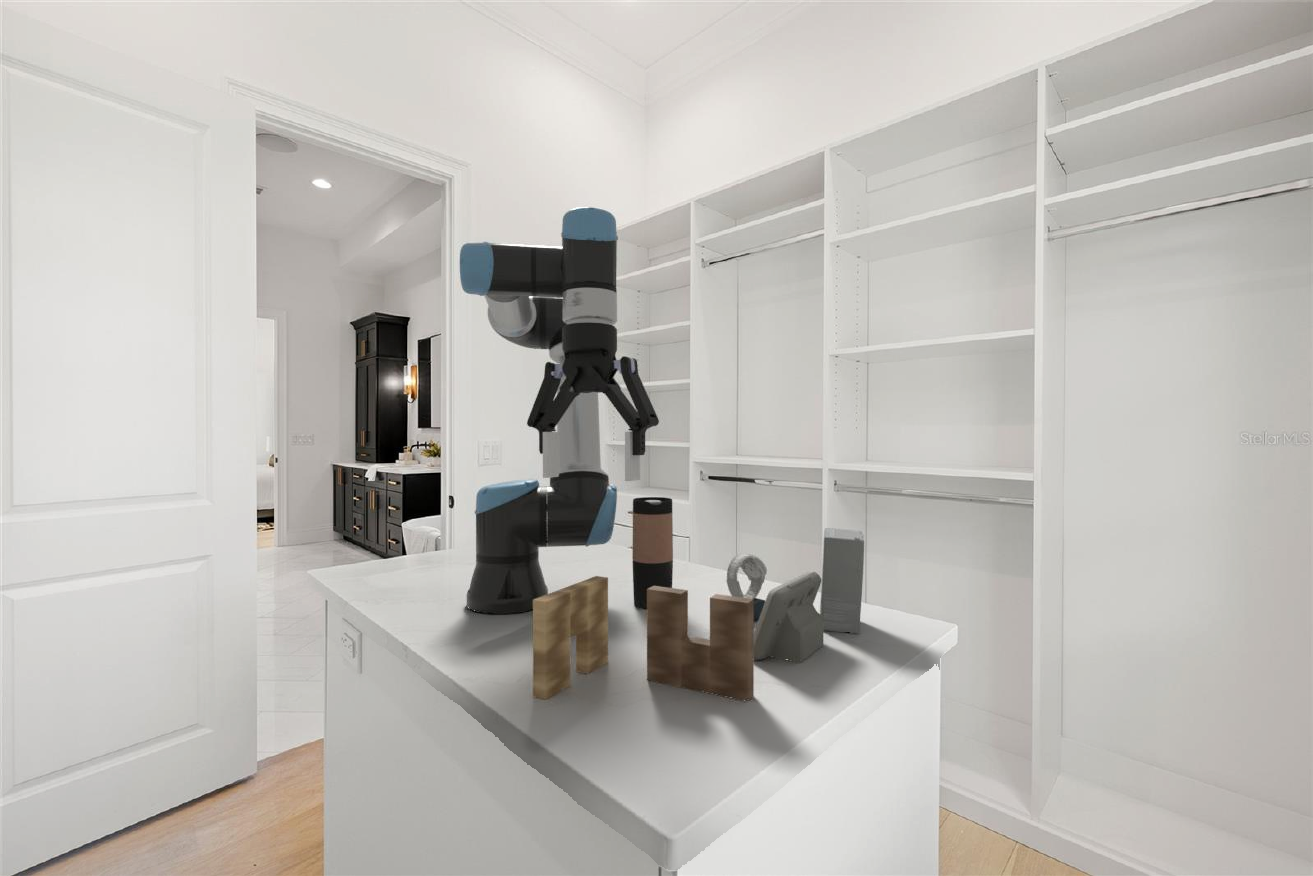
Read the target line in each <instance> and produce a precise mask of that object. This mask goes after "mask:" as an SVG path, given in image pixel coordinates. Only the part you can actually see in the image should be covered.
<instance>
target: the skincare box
mask: <svg viewBox="0 0 1313 876" xmlns="http://www.w3.org/2000/svg"><path fill="white" fill-rule="evenodd" d="M864 537H865V535H864V534H863V532H862V530H852V529H851V530H850V529H843V528H842V529H841V528H831V527H830V528H829V527H828V528H824V532H823V546H822V547H823V553H822V568H821V569H822V571H821V572H822V573H821V584H820V586H821V588H820V589H821V591H820V602H819V603H820V605H819V614H820V615H821V616H822V618H823V631H824V632H825V631H826V632H828V631H829V632H837V633H844V632H850V633H849V634H853V633H857V634H856V635H859V634H860V633H861V632H860V631H861V629H860V628H861V612H862V597H863V583H864V582H863V581H864V580H863V579H864V564H865V541H864Z"/></svg>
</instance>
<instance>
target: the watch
mask: <svg viewBox="0 0 1313 876" xmlns="http://www.w3.org/2000/svg"><path fill="white" fill-rule="evenodd" d="M740 568H741V570H742V571H743V572H744V574H745V576H747V579H748V580H749V581H750V585H749V587H748V589H747V591H746V592H745V593H744V592H743V591H742V589H741V585H740V581H738V572H739V569H740ZM767 571H768V569H767V566H766V565H765V563H764V562H763V560H761V559H760V558H759V557H758V556H756V555H753V554H743V553H740V554H737V555H734V557H732V559H731V560H730V562H729V564H728V568H727V570H726V580H725V581H726V585H727V588H728V591H729V594H730V596H735V597H742V598H750V599H754V623H755V622H758V620H759V617H760V615H761V612H762V609H763V606H764V604H765V601H766V599H761V598H757V596H758V595H759V593H760V592H761V590H762V587H763V584H764V583H765V579H766V575H767Z"/></svg>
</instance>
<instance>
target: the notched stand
mask: <svg viewBox="0 0 1313 876" xmlns="http://www.w3.org/2000/svg"><path fill="white" fill-rule="evenodd" d="M688 591H689V589H681V588H673V587H672V588H668V587H660V586H652V587H650V588H648V589H647V610H646V680H647V681H651V682H656V683H660V684H665V685H669V686H674V687H678V688H683V689H688V690H692V691H696V692H701V691H704V692H703V693H705V692H708V693H707V694H710V693H713V694H712V695H714V694H717V695H716V696H719V695H721V696H720V697H724V696H727V697H726V698H728V697H732V698H731V699H733V698H735V699H734V700H737V699H739V700H738V701H742V700H745V701H744V702H746V701H748V702H749V701H750V700H751V699H752V698H753V697H754V693H755V692H754V691H755V689H754V688H755V687H754V682H755V681H754V680H755V679H754V678H755V677H754V676H755V675H754V669H755V668H754V663H755V661H754V660H755V659H754V631H755V630H754V625H755V624H754V623H755V622H754V599H750V598H742V597H735V596H732V595H728V594H726V595H725V594H720V593H718V594H717V593H715V594H714V595H712V596H711V597H709V638H708V639H707V638H702V637H697V636H691V635H689V633H688V630H689V627H688V626H689V625H688V624H689V621H688V620H689V619H688V618H689V616H688V615H689V611H688V610H689V606H688V605H689V601H688V600H689V599H688V598H689V597H688V595H689V592H688ZM752 696H753V697H752ZM751 697H752V698H751Z"/></svg>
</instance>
